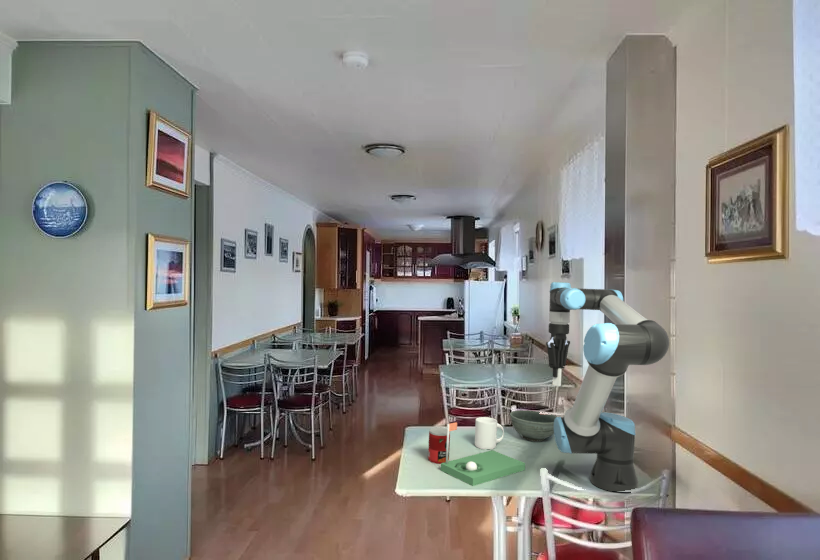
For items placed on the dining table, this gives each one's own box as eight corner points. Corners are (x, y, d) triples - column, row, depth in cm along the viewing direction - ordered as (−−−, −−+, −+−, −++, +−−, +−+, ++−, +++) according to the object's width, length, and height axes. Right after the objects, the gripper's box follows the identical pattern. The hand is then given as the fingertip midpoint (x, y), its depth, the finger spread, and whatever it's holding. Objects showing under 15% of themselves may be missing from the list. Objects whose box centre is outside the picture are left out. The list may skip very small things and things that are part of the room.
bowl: (500, 439, 224) (501, 415, 224) (520, 428, 241) (521, 406, 241) (548, 450, 212) (549, 425, 212) (565, 437, 229) (566, 414, 229)
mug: (507, 449, 211) (508, 422, 211) (478, 450, 209) (479, 423, 209) (499, 442, 220) (500, 416, 219) (471, 443, 217) (472, 417, 217)
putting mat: (524, 470, 190) (526, 424, 189) (472, 486, 174) (474, 435, 173) (492, 456, 202) (493, 413, 202) (440, 470, 186) (442, 423, 186)
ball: (481, 469, 184) (474, 464, 182) (473, 477, 183) (467, 473, 181) (475, 462, 187) (469, 457, 185) (467, 470, 187) (461, 465, 185)
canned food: (440, 465, 191) (441, 435, 191) (423, 459, 196) (424, 430, 196) (453, 460, 196) (454, 431, 196) (436, 455, 202) (437, 426, 202)
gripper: (560, 321, 207) (557, 382, 208) (540, 322, 199) (538, 385, 199) (577, 323, 202) (574, 385, 202) (558, 324, 193) (555, 389, 193)
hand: (556, 385), depth 201 cm, fingers closed
